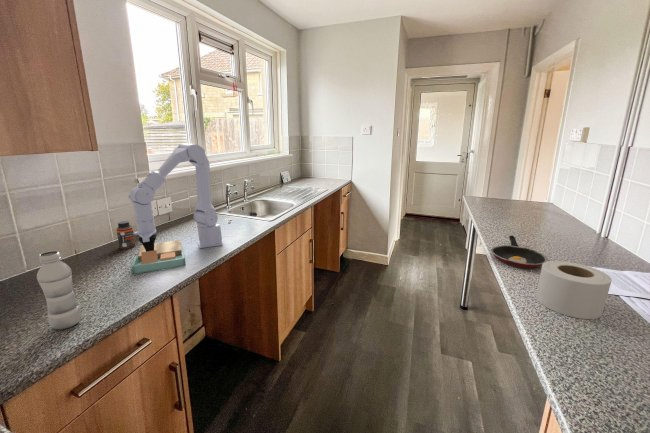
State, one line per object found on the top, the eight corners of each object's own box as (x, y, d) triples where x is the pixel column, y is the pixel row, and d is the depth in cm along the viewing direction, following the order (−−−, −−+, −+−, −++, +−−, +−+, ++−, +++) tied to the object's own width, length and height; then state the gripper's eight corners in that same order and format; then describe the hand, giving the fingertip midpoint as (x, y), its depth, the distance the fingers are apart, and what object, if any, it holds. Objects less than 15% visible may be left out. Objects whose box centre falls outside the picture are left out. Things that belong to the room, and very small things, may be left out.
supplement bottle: (128, 249, 128) (123, 224, 125) (116, 248, 130) (111, 223, 126) (139, 244, 134) (134, 220, 131) (127, 244, 135) (123, 219, 132)
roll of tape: (528, 287, 98) (535, 257, 95) (586, 295, 94) (594, 263, 91) (545, 314, 84) (554, 279, 81) (614, 324, 79) (625, 288, 77)
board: (181, 245, 134) (180, 239, 133) (181, 255, 122) (181, 250, 122) (142, 250, 127) (141, 245, 127) (139, 262, 116) (138, 256, 115)
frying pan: (491, 266, 114) (492, 257, 113) (487, 239, 142) (488, 232, 141) (551, 276, 106) (553, 266, 105) (534, 246, 134) (536, 238, 133)
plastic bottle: (63, 318, 81) (44, 249, 76) (89, 317, 82) (73, 248, 77) (43, 333, 75) (22, 259, 70) (72, 332, 76) (53, 258, 70)
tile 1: (157, 252, 116) (156, 250, 114) (158, 264, 113) (157, 262, 112) (142, 254, 114) (141, 252, 112) (142, 266, 111) (141, 264, 110)
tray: (184, 255, 122) (183, 248, 122) (185, 265, 113) (184, 258, 113) (135, 263, 115) (134, 256, 114) (132, 274, 106) (131, 266, 105)
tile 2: (175, 256, 120) (175, 251, 120) (175, 261, 116) (175, 256, 115) (161, 258, 118) (160, 254, 118) (161, 263, 114) (160, 258, 113)
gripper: (134, 216, 116) (140, 249, 120) (129, 226, 104) (136, 262, 107) (155, 214, 119) (160, 246, 123) (153, 223, 107) (158, 259, 110)
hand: (150, 253), depth 115 cm, fingers closed
